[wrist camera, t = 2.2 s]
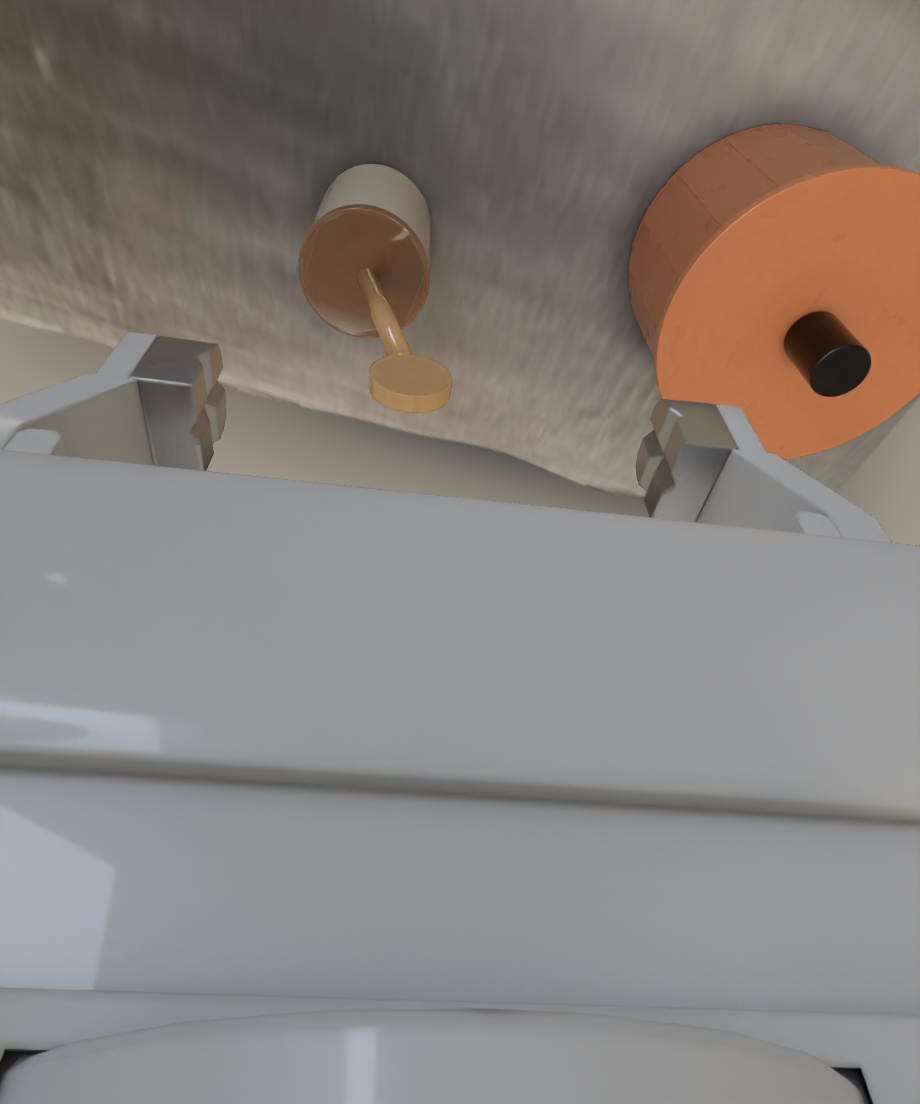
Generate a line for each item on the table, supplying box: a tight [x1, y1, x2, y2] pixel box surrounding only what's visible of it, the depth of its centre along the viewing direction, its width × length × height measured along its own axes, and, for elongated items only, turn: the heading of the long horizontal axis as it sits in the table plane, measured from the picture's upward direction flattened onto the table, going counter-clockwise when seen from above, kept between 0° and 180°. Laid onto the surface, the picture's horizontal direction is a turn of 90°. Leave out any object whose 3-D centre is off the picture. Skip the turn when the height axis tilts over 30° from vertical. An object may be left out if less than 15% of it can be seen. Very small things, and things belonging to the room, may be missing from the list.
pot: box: [628, 124, 881, 358], centre depth 35 cm, size 13×13×9 cm
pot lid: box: [654, 164, 920, 460], centre depth 30 cm, size 14×14×4 cm
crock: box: [298, 164, 452, 413], centre depth 30 cm, size 7×6×17 cm
